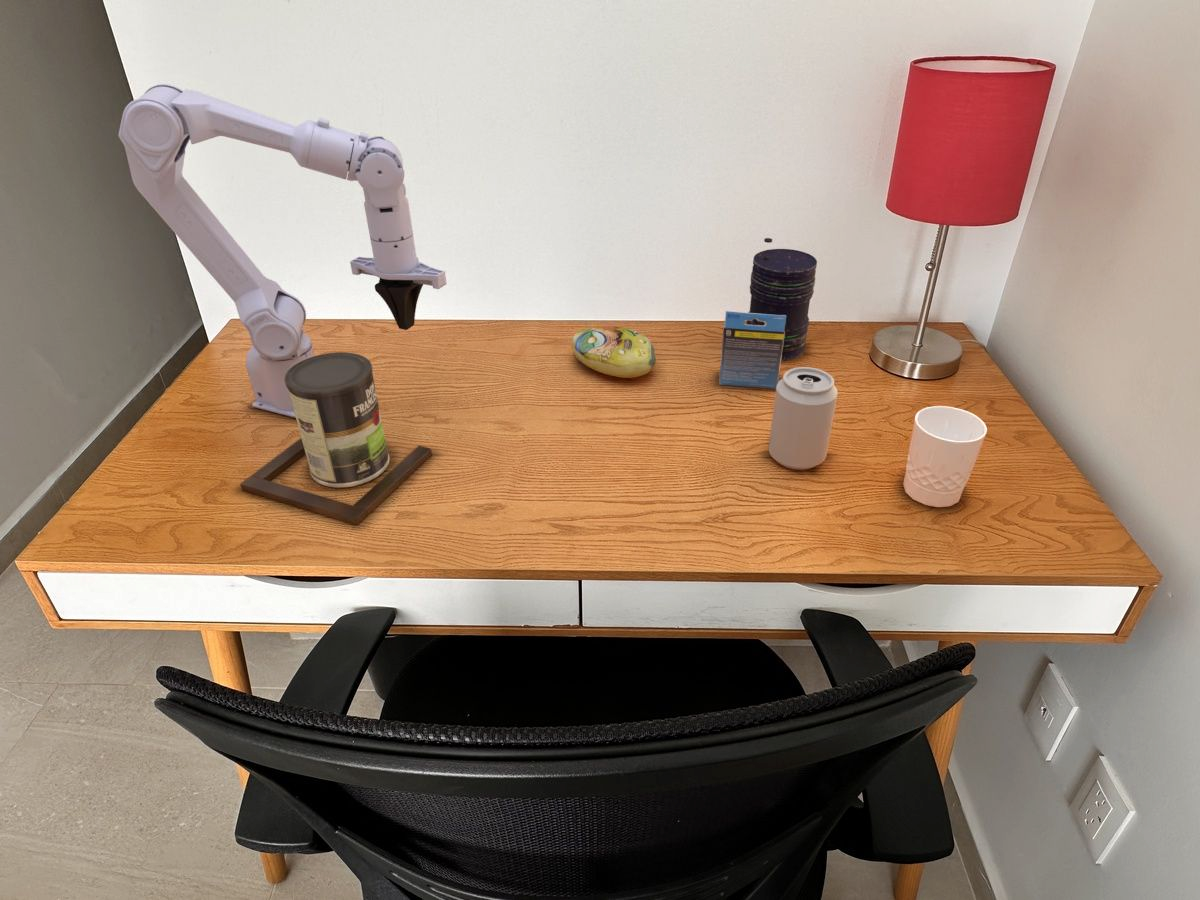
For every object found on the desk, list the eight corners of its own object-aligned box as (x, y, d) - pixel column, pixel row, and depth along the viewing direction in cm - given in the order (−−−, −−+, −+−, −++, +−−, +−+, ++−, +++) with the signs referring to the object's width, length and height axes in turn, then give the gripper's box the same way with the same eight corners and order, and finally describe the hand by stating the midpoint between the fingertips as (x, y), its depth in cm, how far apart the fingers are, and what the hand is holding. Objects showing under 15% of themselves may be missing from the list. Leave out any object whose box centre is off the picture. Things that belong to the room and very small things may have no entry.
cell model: (625, 382, 117) (558, 320, 122) (619, 411, 123) (556, 351, 128) (676, 346, 121) (609, 287, 126) (668, 376, 128) (605, 319, 133)
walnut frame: (241, 490, 100) (239, 484, 100) (324, 426, 112) (323, 420, 112) (357, 525, 94) (355, 519, 94) (432, 454, 106) (431, 448, 106)
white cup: (957, 519, 94) (979, 449, 88) (890, 497, 97) (907, 429, 92) (971, 484, 99) (992, 417, 94) (907, 465, 103) (924, 399, 97)
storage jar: (805, 336, 134) (821, 231, 124) (804, 363, 126) (820, 254, 116) (746, 331, 136) (756, 227, 126) (741, 357, 128) (751, 249, 118)
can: (828, 446, 107) (842, 367, 100) (822, 478, 101) (837, 396, 94) (772, 436, 109) (782, 359, 102) (763, 467, 103) (773, 387, 96)
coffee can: (401, 445, 108) (383, 353, 100) (373, 491, 100) (352, 394, 92) (329, 440, 110) (306, 349, 101) (296, 485, 101) (268, 389, 93)
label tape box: (777, 377, 122) (786, 303, 115) (777, 391, 119) (787, 315, 112) (719, 373, 124) (725, 300, 117) (718, 386, 120) (724, 311, 113)
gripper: (453, 232, 108) (464, 323, 116) (366, 219, 113) (382, 308, 121) (423, 249, 103) (437, 344, 110) (333, 235, 108) (352, 326, 115)
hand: (406, 326), depth 115 cm, fingers closed
